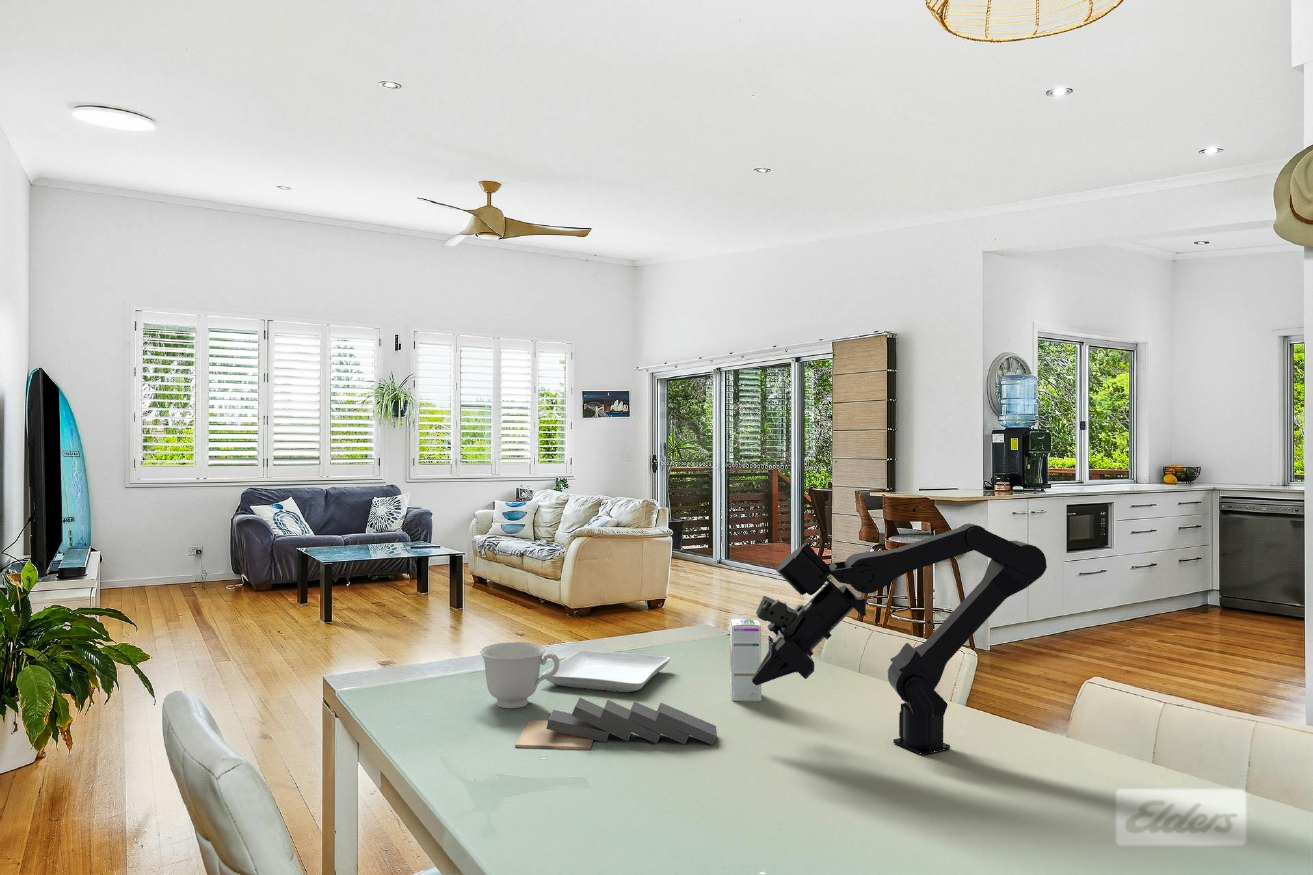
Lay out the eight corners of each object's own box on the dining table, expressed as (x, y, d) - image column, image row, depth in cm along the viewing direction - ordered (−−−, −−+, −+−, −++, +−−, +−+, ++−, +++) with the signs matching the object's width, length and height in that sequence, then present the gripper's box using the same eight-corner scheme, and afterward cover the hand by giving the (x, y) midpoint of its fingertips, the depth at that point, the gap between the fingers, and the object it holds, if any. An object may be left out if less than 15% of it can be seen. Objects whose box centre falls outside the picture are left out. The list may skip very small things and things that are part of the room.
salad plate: (539, 689, 166) (539, 672, 166) (579, 663, 187) (579, 648, 187) (641, 700, 160) (641, 682, 160) (671, 672, 181) (672, 656, 181)
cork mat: (599, 724, 145) (599, 722, 145) (590, 749, 133) (590, 746, 133) (530, 722, 146) (530, 719, 146) (514, 747, 134) (515, 744, 134)
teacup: (547, 717, 148) (548, 660, 148) (468, 711, 151) (469, 655, 151) (568, 697, 160) (569, 644, 160) (494, 692, 163) (495, 640, 163)
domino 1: (611, 722, 141) (553, 709, 142) (608, 732, 136) (548, 719, 137) (609, 731, 141) (551, 718, 142) (606, 742, 136) (546, 728, 137)
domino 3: (662, 724, 141) (607, 699, 142) (660, 734, 136) (604, 708, 137) (658, 733, 141) (604, 708, 142) (656, 743, 136) (600, 717, 137)
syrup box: (762, 701, 159) (763, 624, 159) (730, 701, 159) (731, 624, 159) (759, 693, 165) (759, 618, 165) (728, 692, 165) (729, 618, 165)
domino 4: (689, 725, 141) (634, 701, 141) (688, 735, 136) (631, 710, 136) (685, 733, 141) (630, 709, 141) (685, 744, 136) (627, 719, 136)
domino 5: (716, 725, 141) (660, 702, 141) (716, 736, 136) (659, 711, 136) (712, 734, 141) (656, 711, 141) (713, 745, 136) (655, 720, 136)
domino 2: (634, 721, 141) (579, 697, 142) (631, 731, 136) (575, 706, 137) (630, 730, 141) (575, 705, 142) (627, 740, 136) (571, 715, 137)
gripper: (779, 571, 147) (717, 635, 148) (791, 589, 128) (719, 662, 129) (826, 617, 147) (762, 680, 147) (844, 641, 128) (772, 714, 128)
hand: (753, 682), depth 138 cm, fingers closed
